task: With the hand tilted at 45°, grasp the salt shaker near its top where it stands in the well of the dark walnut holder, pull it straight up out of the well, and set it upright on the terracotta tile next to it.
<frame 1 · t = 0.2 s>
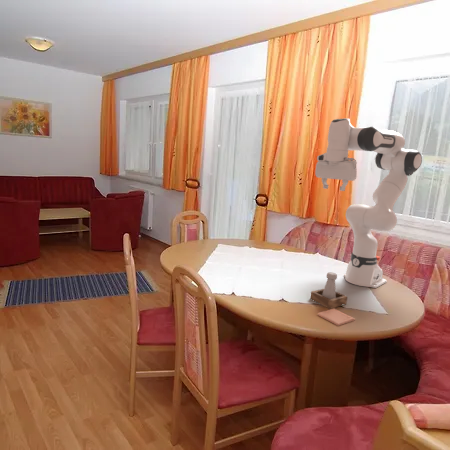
hand: (333, 189, 163), 47 cm above the table, tool pointing down, fingers open, 8 cm apart
walnut holder: (328, 301, 161), on the table
salt shaker: (327, 302, 161), resting in walnut holder
terracotta tile: (335, 317, 146), on the table
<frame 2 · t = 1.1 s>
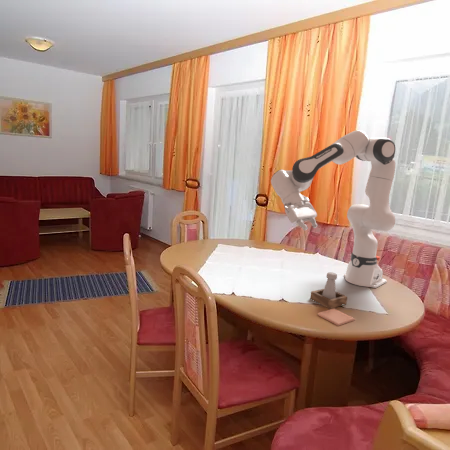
hand: (311, 228, 163), 30 cm above the table, tool tilted 45°, fingers open, 8 cm apart
nothing on the table moved.
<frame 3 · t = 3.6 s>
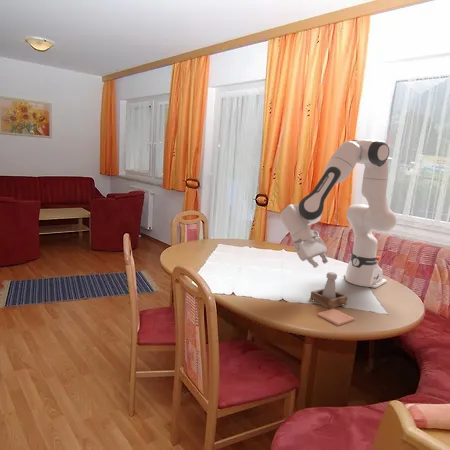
hand: (321, 264, 161), 15 cm above the table, tool tilted 45°, fingers open, 8 cm apart
nothing on the table moved.
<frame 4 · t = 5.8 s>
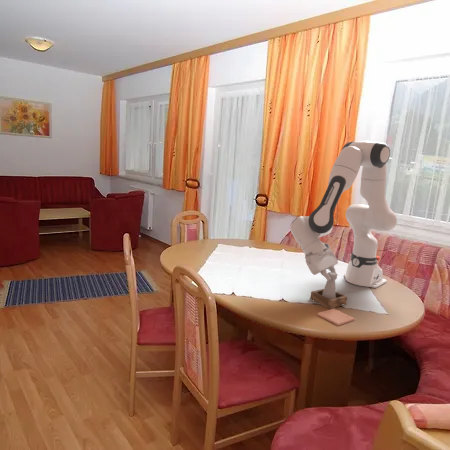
hand: (332, 278, 159), 11 cm above the table, tool tilted 45°, fingers closed on salt shaker, 4 cm apart
salt shaker: (327, 302, 161), resting in walnut holder, touching gripper
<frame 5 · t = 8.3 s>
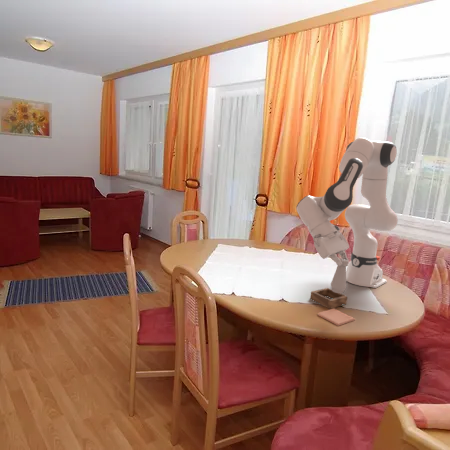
hand: (343, 263, 142), 22 cm above the table, tool tilted 45°, fingers closed on salt shaker, 4 cm apart
salt shaker: (337, 291, 145), point 10 cm above the table, touching gripper
when the fingers open (13 cm above the table, at t = 10.9 s): salt shaker stays where it is, resting on terracotta tile.
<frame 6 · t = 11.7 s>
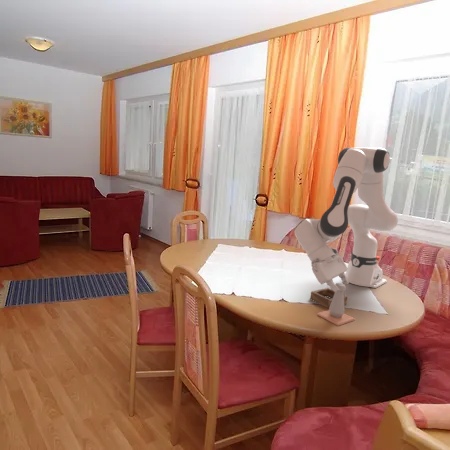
hand: (342, 287, 143), 13 cm above the table, tool tilted 45°, fingers open, 8 cm apart
salt shaker: (335, 316, 146), point 1 cm above the table, touching terracotta tile
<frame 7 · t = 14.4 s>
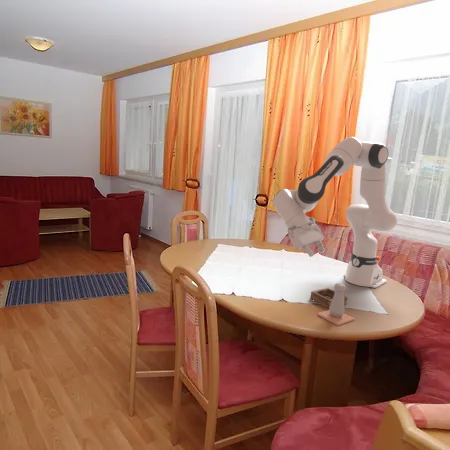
hand: (318, 253, 148), 23 cm above the table, tool tilted 45°, fingers open, 8 cm apart
nothing on the table moved.
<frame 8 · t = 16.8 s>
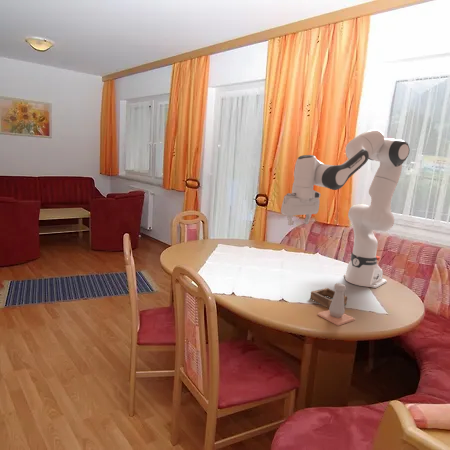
hand: (298, 224, 163), 31 cm above the table, tool pointing down, fingers open, 8 cm apart
nothing on the table moved.
at the end: salt shaker 0.1 cm off-centre on the terracotta tile, point 0.6 cm above the terracotta tile's base; salt shaker tilted 0°; the gripper is holding nothing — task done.
